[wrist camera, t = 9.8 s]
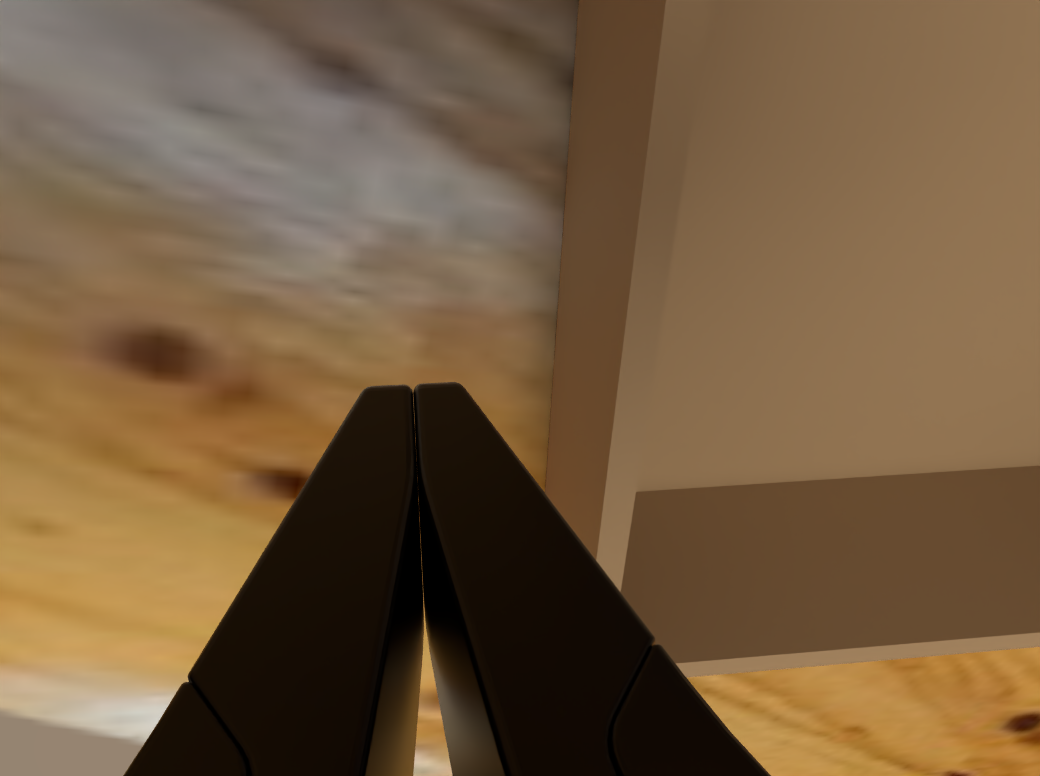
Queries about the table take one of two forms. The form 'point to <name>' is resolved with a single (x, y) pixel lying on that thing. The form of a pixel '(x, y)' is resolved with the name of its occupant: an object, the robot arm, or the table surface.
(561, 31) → the table surface
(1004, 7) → the carton
